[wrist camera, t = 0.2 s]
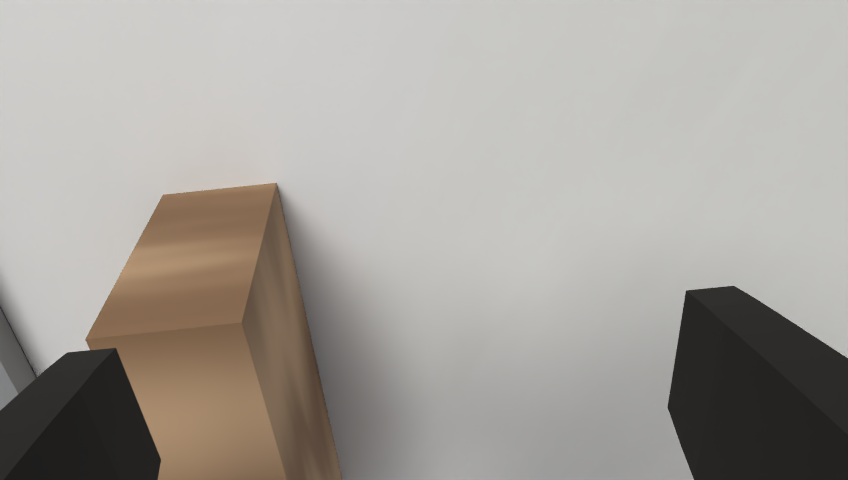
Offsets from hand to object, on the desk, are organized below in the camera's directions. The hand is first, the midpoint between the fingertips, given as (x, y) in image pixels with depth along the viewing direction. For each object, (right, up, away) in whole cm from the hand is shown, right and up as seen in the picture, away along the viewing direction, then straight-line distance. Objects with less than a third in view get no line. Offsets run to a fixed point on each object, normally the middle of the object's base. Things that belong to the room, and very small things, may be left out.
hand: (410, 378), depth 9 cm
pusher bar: (-5, -2, +13) cm, 13 cm away
